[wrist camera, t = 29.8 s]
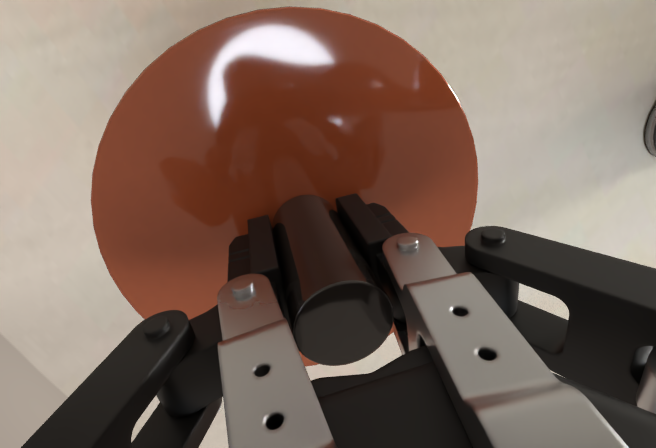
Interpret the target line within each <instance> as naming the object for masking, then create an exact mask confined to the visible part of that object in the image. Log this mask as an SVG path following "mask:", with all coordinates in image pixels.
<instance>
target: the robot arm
mask: <svg viewBox="0 0 656 448" xmlns="http://www.w3.org/2000/svg"><path fill="white" fill-rule="evenodd" d="M645 140H646V145H647V148H648V150H649V151H650V153H651V154H652V155H654V156H656V105H655V107H654V109H653V111H652V113H651V115H650V117H649V120H648V123H647V127H646V133H645ZM336 208H337V213H338V215H339V217H340V218H341V220H342V222H343V223H344V225H345V226H346V228H347V230H348V231H349V233H350V235H351V236H352V238H353V239H354V241H355V243H356V244H357V246H358V248H359V249H360V251H361V252H362V254H363V256H364V257H365V259H366V261H367V262H368V264H369V265H370V267H371V269H372V270H373V272H374V274H375V275H376V277H377V278H378V280H379V282H380V283H381V285H382V287H383V288H384V290H385V291H386V293H387V295H388V296H389V298H390V300H391V302H392V305H393V309H394V321H393V325H392V328H393V331H394V334H395V336H396V339H397V342H398V345H399V347H400V350H401V353H402V356H400V357H398V358H397V359H395V360H393V361H392V362H390V363H388V364H386V365H385V366H383V367H381V368H379V369H378V370H376V371H374V372H372V373H369V374H360V375H348V376H336V377H324V378H318V379H315V380H312V381H310V378H309V376H308V373H307V371H306V368H305V366H304V363H303V361H302V358H301V355H300V353H299V350H298V348H297V345H296V343H295V340H294V338H293V335H292V331H291V326H290V320H289V315H288V310H287V305H286V300H285V290H284V285H283V280H282V275H281V270H280V265H279V260H278V255H277V250H276V245H275V240H274V234H273V230H272V226H271V222H270V219H269V215H264V216H260V217H256V218H252V219H248V220H247V222H248V234H245V235H241V236H237V237H235V238H234V240H233V241H232V242H231V244H230V245H229V256H228V262H229V263H228V279H227V283H226V284H225V285H223V286H222V287H221V289H220V290H219V292H218V294H217V302H218V304H217V305H216V306H214V307H213V308H212V309H210V310H208V311H206V312H205V313H203V314H201V315H199V316H196V317H194V318H192V319H190V320H189V319H188V317H187V315H186V314H185V313H184V312H183V311H180V310H168V311H163V312H160V313H157V314H155V315H152V316H150V317H149V318H147V319H145V320H144V321H142V322H141V323H140V324H138V325H137V326H136V327H135V328H134V329H133V330H132V331H131V332H130V333H129V334H128V335H127V337H126V338H125V339H124V340H123V341H122V342H121V343H120V344H119V345H118V346H117V347H116V348H115V349H114V350H113V351H112V352H111V353H110V354H109V355H108V356H107V358H106V359H105V360H104V361H103V362H102V363H101V364H100V365H99V366H98V367H97V368H96V369H95V370H94V371H93V372H92V373H91V374H90V375H89V376H88V377H87V379H86V380H85V381H84V382H83V383H82V384H81V385H80V386H79V387H78V388H77V389H76V390H75V391H74V392H73V393H72V394H71V395H70V396H69V397H68V399H67V400H66V401H65V402H64V403H63V404H62V405H61V406H60V407H59V408H58V409H57V410H56V411H55V412H54V413H53V414H52V415H51V416H50V418H48V420H47V421H46V422H45V423H44V424H43V425H42V426H41V427H40V428H39V429H38V430H37V431H36V432H35V433H34V434H33V435H32V436H31V437H30V438H29V439H28V441H27V442H26V443H25V444H24V445H23V446H22V447H21V448H198V447H199V445H200V444H201V442H202V440H203V438H204V436H205V434H206V433H207V431H208V429H209V427H210V425H211V423H212V421H213V420H214V418H215V416H216V414H217V412H218V410H219V408H220V406H221V403H222V397H223V400H224V409H225V418H226V426H227V435H228V444H229V448H656V269H655V268H651V267H648V266H644V265H640V264H637V263H633V262H629V261H625V260H622V259H618V258H614V257H611V256H607V255H603V254H600V253H596V252H592V251H589V250H585V249H581V248H578V247H574V246H570V245H567V244H563V243H559V242H556V241H552V240H548V239H545V238H541V237H537V236H534V235H530V234H526V233H523V232H519V231H515V230H512V229H508V228H504V227H498V226H485V227H479V228H475V229H473V230H471V231H469V232H468V233H467V234H466V235H465V246H452V247H437V246H436V245H435V243H434V242H433V241H432V240H431V238H429V237H428V236H425V235H423V234H419V233H409V232H408V231H407V230H406V229H405V227H404V226H403V225H402V224H401V223H400V222H399V221H398V220H396V218H395V217H394V216H393V215H392V214H391V213H390V212H389V211H388V210H387V208H386V207H385V206H382V205H379V204H377V203H370V204H365V203H364V201H363V200H362V199H361V198H360V197H359V196H358V194H357V193H354V194H350V195H346V196H342V197H338V198H336ZM519 283H521V284H524V285H526V286H529V287H532V288H534V289H537V290H540V291H542V292H545V293H548V294H550V295H553V296H555V297H557V298H559V299H560V300H562V301H563V302H564V303H565V304H566V306H567V307H568V309H569V320H566V319H563V318H561V317H559V316H556V315H554V314H551V313H549V312H546V311H544V310H541V309H539V308H537V307H534V306H532V305H529V304H527V303H524V302H522V301H519V300H518V291H519ZM550 370H551V371H553V372H555V373H557V374H559V375H561V376H559V375H557V374H554V373H552V372H551V371H550ZM562 376H563V377H562ZM564 377H565V378H564ZM156 395H157V397H158V399H159V401H160V403H159V405H158V406H157V408H156V409H155V411H154V412H153V413H152V415H151V416H150V418H149V419H148V420H147V422H146V423H145V425H144V426H143V428H142V429H141V430H140V432H139V433H138V435H137V436H136V438H135V439H134V440H133V442H132V443H131V435H132V431H133V428H134V426H135V424H136V422H137V420H138V419H139V418H140V416H141V415H142V413H143V412H144V411H145V409H146V408H147V407H148V405H149V404H150V402H151V401H152V400H153V398H154V397H155V396H156Z"/></svg>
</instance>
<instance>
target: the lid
mask: <svg viewBox="0 0 656 448" xmlns="http://www.w3.org/2000/svg"><path fill="white" fill-rule="evenodd" d="M477 190H478V167H477V156H476V151H475V145H474V140H473V136H472V133H471V130H470V127H469V124H468V121H467V118H466V115H465V113H464V111H463V109H462V107H461V105H460V103H459V101H458V99H457V97H456V95H455V93H454V92H453V90H452V89H451V88H450V86H449V85H448V83H447V82H446V80H445V79H444V78H443V76H442V75H441V73H440V72H439V71H438V70H437V69H436V68H435V67H434V66H433V65H432V64H431V63H430V62H429V61H428V60H427V58H426V57H425V56H424V55H423V54H421V53H420V52H419V51H418V50H416V49H415V48H414V47H412V46H411V45H410V44H409V43H407V42H406V41H405V40H403V39H402V38H400V37H399V36H397V35H395V34H393V33H392V32H390V31H388V30H386V29H384V28H383V27H381V26H379V25H377V24H375V23H372V22H369V21H366V20H364V19H361V18H358V17H356V16H353V15H350V14H346V13H341V12H336V11H332V10H327V9H322V8H307V7H280V8H270V9H260V10H255V11H251V12H247V13H243V14H239V15H235V16H231V17H227V18H225V19H222V20H220V21H218V22H215V23H213V24H211V25H208V26H206V27H204V28H201V29H199V30H197V31H195V32H194V33H192V34H190V35H189V36H187V37H186V38H184V39H182V40H181V41H179V42H177V43H176V44H174V45H173V46H171V47H169V48H168V49H167V50H166V51H165V52H164V53H163V54H161V55H160V56H159V57H158V58H157V59H156V60H154V61H153V62H152V63H151V64H150V65H149V66H147V67H146V68H145V69H144V71H143V72H142V73H141V74H140V75H139V76H138V78H137V79H136V80H135V81H134V82H133V84H132V85H131V86H130V87H129V88H128V90H127V91H126V92H125V93H124V95H123V97H122V98H121V100H120V102H119V103H118V105H117V107H116V108H115V110H114V112H113V113H112V115H111V117H110V118H109V121H108V123H107V126H106V128H105V131H104V133H103V136H102V138H101V141H100V143H99V146H98V151H97V155H96V160H95V164H94V169H93V173H92V190H91V206H92V216H93V226H94V230H95V234H96V238H97V242H98V245H99V249H100V252H101V255H102V257H103V259H104V262H105V264H106V266H107V269H108V271H109V273H110V275H111V277H112V278H113V280H114V282H115V283H116V285H117V286H118V288H119V290H120V291H121V293H122V294H123V296H124V297H125V298H126V299H127V301H128V302H129V303H130V304H131V305H132V307H133V308H134V309H135V310H136V311H137V312H138V313H139V314H140V315H141V316H142V317H143V318H144V319H147V318H149V317H150V316H152V315H155V314H157V313H160V312H163V311H168V310H180V311H183V312H184V313H185V314H186V315H187V317H188V319H189V320H190V319H192V318H194V317H196V316H199V315H201V314H203V313H205V312H206V311H208V310H210V309H212V308H213V307H214V306H216V305H217V304H218V302H217V294H218V292H219V290H220V289H221V287H222V286H223V285H225V284H226V283H227V279H228V263H229V262H228V256H229V245H230V244H231V242H232V241H233V240H234V238H235V237H237V236H241V235H245V234H248V222H247V220H248V219H252V218H256V217H260V216H264V215H269V219H270V222H271V226H272V230H273V234H274V240H275V245H276V250H277V255H278V260H279V265H280V270H281V275H282V280H283V285H284V290H285V300H286V305H287V310H288V315H289V320H290V326H291V331H292V335H293V338H294V340H295V343H296V345H297V348H298V350H299V353H300V355H301V358H302V361H303V363H304V366H312V365H317V364H322V365H329V366H339V365H346V364H350V363H353V362H356V361H359V360H361V359H363V358H365V357H367V356H368V355H370V354H371V353H373V352H374V351H375V350H376V349H378V348H379V347H380V346H381V345H382V343H383V342H384V341H385V340H386V338H387V337H388V336H389V335H390V334H391V333H393V332H394V331H393V328H392V325H393V321H394V309H393V305H392V302H391V300H390V298H389V296H388V295H387V293H386V291H385V290H384V288H383V287H382V285H381V283H380V282H379V280H378V278H377V277H376V275H375V274H374V272H373V270H372V269H371V267H370V265H369V264H368V262H367V261H366V259H365V257H364V256H363V254H362V252H361V251H360V249H359V248H358V246H357V244H356V243H355V241H354V239H353V238H352V236H351V235H350V233H349V231H348V230H347V228H346V226H345V225H344V223H343V222H342V220H341V218H340V217H339V215H338V213H337V208H336V198H338V197H342V196H346V195H350V194H354V193H357V194H358V196H359V197H360V198H361V199H362V200H363V201H364V203H365V204H370V203H377V204H379V205H382V206H385V207H386V208H387V210H388V211H389V212H390V213H391V214H392V215H393V216H394V217H395V218H396V220H398V221H399V222H400V223H401V224H402V225H403V226H404V227H405V229H406V230H407V231H408V232H409V233H419V234H423V235H425V236H428V237H429V238H431V240H432V241H433V242H434V243H435V245H436V246H437V247H452V246H465V235H466V234H467V233H468V232H469V231H470V229H471V226H472V222H473V217H474V213H475V208H476V203H477Z"/></svg>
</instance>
